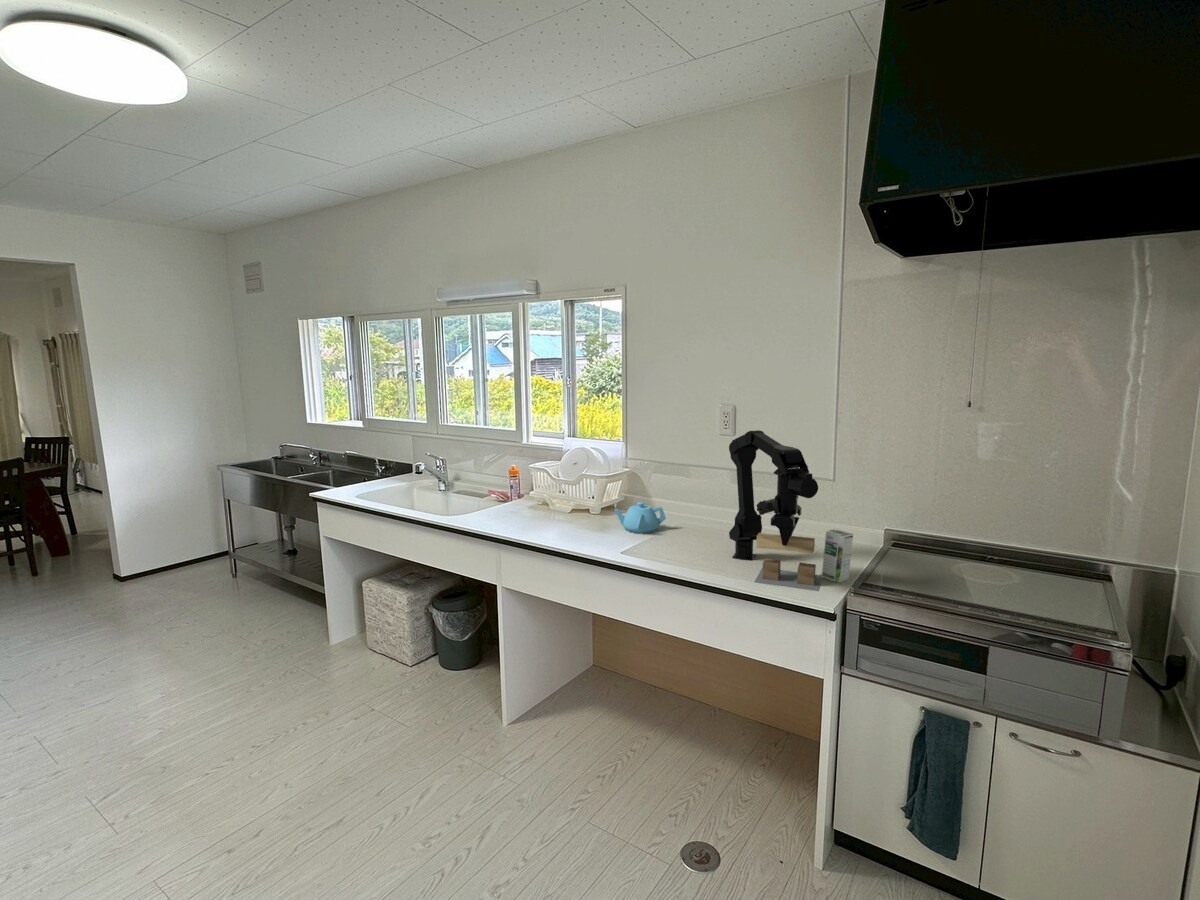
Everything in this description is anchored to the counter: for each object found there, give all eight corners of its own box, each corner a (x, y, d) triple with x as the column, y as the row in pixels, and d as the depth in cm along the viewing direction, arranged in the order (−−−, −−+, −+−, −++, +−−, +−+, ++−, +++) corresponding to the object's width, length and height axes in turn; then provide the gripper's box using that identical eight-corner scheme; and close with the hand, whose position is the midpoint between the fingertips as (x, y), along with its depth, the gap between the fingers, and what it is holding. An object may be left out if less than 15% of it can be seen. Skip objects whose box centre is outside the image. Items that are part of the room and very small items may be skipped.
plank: (758, 543, 186) (759, 532, 185) (814, 549, 179) (814, 538, 179) (756, 547, 182) (756, 536, 182) (813, 553, 176) (813, 541, 175)
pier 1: (764, 574, 187) (765, 558, 186) (780, 576, 185) (780, 560, 184) (762, 578, 183) (762, 562, 182) (777, 580, 181) (778, 564, 180)
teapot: (641, 537, 228) (641, 509, 226) (612, 529, 239) (612, 502, 237) (667, 529, 238) (668, 502, 237) (639, 522, 249) (639, 496, 248)
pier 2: (799, 578, 183) (799, 562, 182) (815, 580, 181) (815, 564, 180) (797, 583, 178) (797, 567, 178) (813, 585, 177) (814, 569, 176)
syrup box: (820, 577, 184) (825, 530, 181) (832, 573, 187) (837, 527, 185) (837, 583, 179) (842, 535, 177) (849, 579, 182) (854, 532, 180)
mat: (762, 568, 193) (762, 567, 192) (822, 576, 185) (822, 575, 185) (754, 583, 180) (754, 582, 180) (818, 592, 173) (818, 591, 173)
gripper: (765, 484, 190) (763, 533, 192) (753, 495, 174) (751, 548, 176) (802, 486, 186) (800, 536, 188) (793, 498, 169) (792, 553, 171)
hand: (785, 543), depth 181 cm, fingers closed on plank, 4 cm apart
